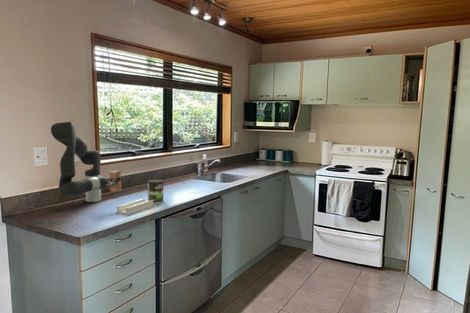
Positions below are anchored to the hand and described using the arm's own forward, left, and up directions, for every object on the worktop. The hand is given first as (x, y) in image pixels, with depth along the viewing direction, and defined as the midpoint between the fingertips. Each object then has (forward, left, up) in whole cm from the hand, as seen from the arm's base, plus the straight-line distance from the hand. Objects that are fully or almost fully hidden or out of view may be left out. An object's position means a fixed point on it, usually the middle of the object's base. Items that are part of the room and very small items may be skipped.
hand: (118, 178), depth 210 cm
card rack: (+3, +12, -18) cm, 22 cm away
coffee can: (-17, +17, -18) cm, 30 cm away
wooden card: (+2, -1, -7) cm, 7 cm away
